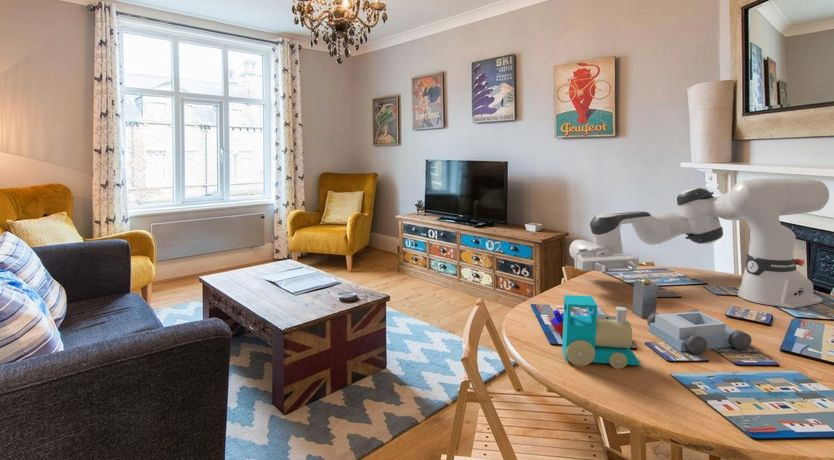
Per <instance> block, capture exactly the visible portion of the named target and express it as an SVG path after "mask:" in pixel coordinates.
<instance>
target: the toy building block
mask: <svg viewBox="0 0 834 460" xmlns="http://www.w3.org/2000/svg"><path fill="white" fill-rule="evenodd" d="M553 316H555V317H553V318H552V319H550V323H551V324H552V326H553V329H554V331H556V332H557V333H558V334H559V335H560V334H561V335H560V336H563V316H564V312H562V313H561V312H560V310H559V309H555V310H553Z"/></svg>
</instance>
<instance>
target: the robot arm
mask: <svg viewBox="0 0 834 460" xmlns="http://www.w3.org/2000/svg"><path fill="white" fill-rule="evenodd" d="M713 194H714V191H712V192H710V190H708V189H705V188H702V187H692V188H688V189H685V190H683V191H682V192H680V194H678V195H677V197H676V203H677V206H678V207H679V208H678V209H679V211H680V213H677V212H674V211H673V212H671V211H670V212H663V213H659V214H655V215H652V214H650V212H648V211H638V210H637V211H625V212H620V213H601V214H597V215H595V216H594V217H593V218H592V220H591V221H590V222H589V227H590V231H591V235H592V241H593V242H592V241H588V240H584V239H575V240H573V241H572V242H571V243H570V245H569V255H570V257H571V258H572V259H573V260H574V268H575V269H576V270H580V271H581V272H592V271H595V272H603V273H605V272H609V271H611V270H627V269H628V270H630V271H635V270H636V269H638V268H639V262H640V259H639V257H637V256H635V255H631V254H629V253H628V254H627V253H623V243H622V236H621V226H622V225H626V224H627V225H628V224H631V226H632V227H633V229H634V231H635V234H636V236H637V238H639V239H640V240H641V242H643V243H645V244H648V245H650V246H654V245H656V246H657V245H660V244H663V243H666V242H668V241H670V240H672V239H674V238H676V237H679V236H681V235H686V236H685V237H684V239H686V240H690V241H691V242H692V243H696V244H699V245H701V244H703V245H708V244H712V243H715V242H717V241H718V240H720V239H722V237H723V236H724V229H723V226H721V225H722V224H721V221H720V219H723V220H726V221H744V220H745V221H746V223H747V225H748V228H749V244H748V245H749V247H748V253H746V257H745V268H744V271H743V275H742V280H741V283H740V286H738V287H737V288H738V289H737V290H738V291H737V294H736V295H737V296H738V297H739V298H741V299H744V300H746V301H748V302H753V303H757V304H762V305H768V306H776V307H781V308H785V307H786V308H787V309H797V307H798V308H801V307H802V308H803V307H807V306H811V305H818V304H821V302H822V303H823V298H821V297H819V296H817V295H815V294H814V284H813V282H812V281H811V280H810V279H809V278H807V277H806V276H805V275H804V274H802V273H801V272H800V271H798V270H797V269H798V268H797V266H800V267H803V266H804V265H805V263H806V262H805V260H804V259H800V258H796V259H794V252H795V246H796V240H797V239H796V234H795V233H794V232H793V230H792V229H791V228H789V227H787V226H786V225H783V224H782V223H781V221H780V217H781V216H790V215H799V214H808V213H813V212H817V211H821V210H822V209H824V207H825V206H826V205H827V204H828V202H829V199H830V190H829V188H828V186H827V185H826V184H825V183H824V182H823V181H821V180H817V179H811V178H804V177H800V178H799V177H795V178H793V177H791V178H789V177H788V178H786V177H785V178H752V179H748V180H742V181H739V182H737V183H736V184H734V185H733V187H732V189H731V190H730V191H728V192H726V193H724V194H721V195H720V196H714V195H713Z"/></svg>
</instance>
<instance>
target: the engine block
mask: <svg viewBox="0 0 834 460" xmlns="http://www.w3.org/2000/svg"><path fill="white" fill-rule="evenodd" d="M658 288H659V285H658V284H656V283H655V282H652V281H651V280H650V279H649V278H648V279H647V278H643V279H641V280H637V281H635V280H634V281H633V291H632V293H633V295H632V308H631V313H632V314H633V315H634V316H636V317H637V318H640V319H648V317H649V316H650V315H651V314H652V313H657V302H658V301H657V300H658Z"/></svg>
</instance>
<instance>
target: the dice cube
mask: <svg viewBox="0 0 834 460" xmlns="http://www.w3.org/2000/svg"><path fill="white" fill-rule="evenodd" d="M597 319H608V320H616V316H613V315H606V314H601V313H598V314H597Z"/></svg>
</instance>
